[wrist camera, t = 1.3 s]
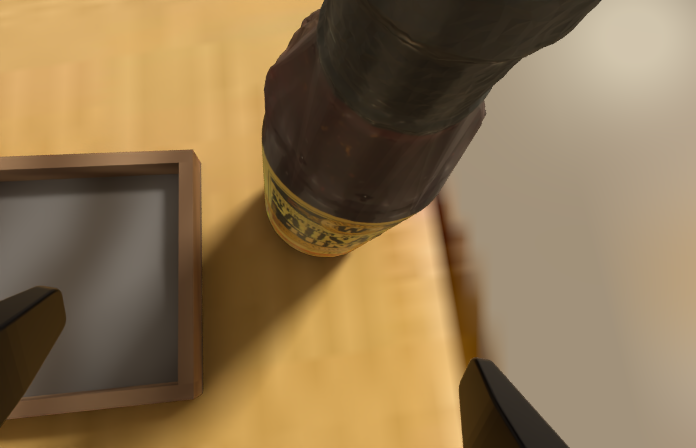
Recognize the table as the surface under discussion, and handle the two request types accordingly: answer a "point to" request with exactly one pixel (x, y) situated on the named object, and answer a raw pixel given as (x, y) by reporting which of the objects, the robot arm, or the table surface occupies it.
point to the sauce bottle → (386, 107)
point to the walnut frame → (108, 274)
